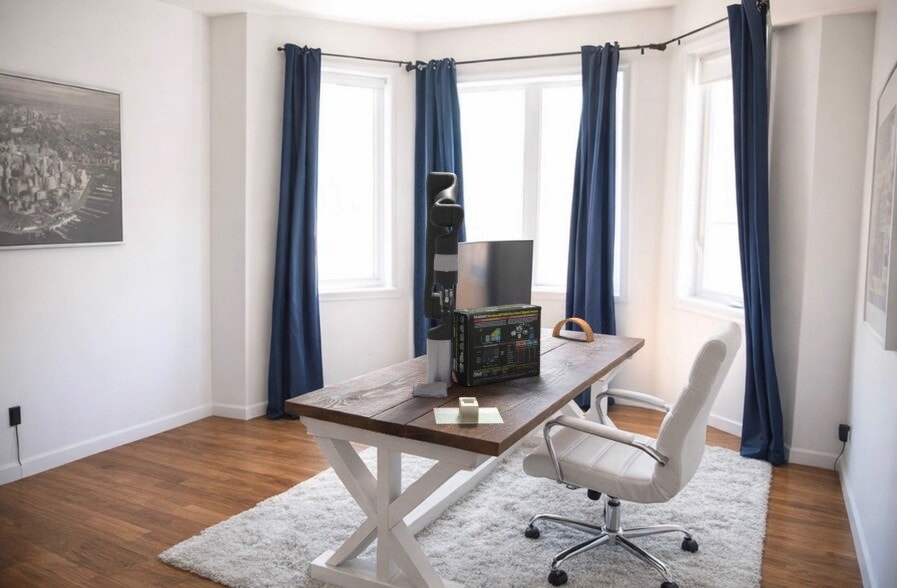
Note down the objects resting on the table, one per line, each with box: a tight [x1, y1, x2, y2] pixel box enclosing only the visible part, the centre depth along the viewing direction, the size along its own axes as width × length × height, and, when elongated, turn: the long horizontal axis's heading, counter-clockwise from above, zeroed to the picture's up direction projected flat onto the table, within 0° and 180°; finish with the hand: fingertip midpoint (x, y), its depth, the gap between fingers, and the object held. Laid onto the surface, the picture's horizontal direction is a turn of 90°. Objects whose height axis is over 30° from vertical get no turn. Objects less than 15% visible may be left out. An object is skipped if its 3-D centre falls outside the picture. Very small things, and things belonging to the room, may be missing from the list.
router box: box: [452, 302, 543, 387], centre depth 265 cm, size 36×11×27 cm, turn 125°
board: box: [433, 407, 505, 425], centre depth 217 cm, size 16×20×1 cm
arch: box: [551, 317, 595, 343], centre depth 348 cm, size 6×20×10 cm, turn 50°
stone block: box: [412, 382, 448, 399], centre depth 241 cm, size 12×5×10 cm
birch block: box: [458, 397, 480, 422], centre depth 214 cm, size 5×5×9 cm
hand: (445, 323), depth 225 cm, fingers closed
